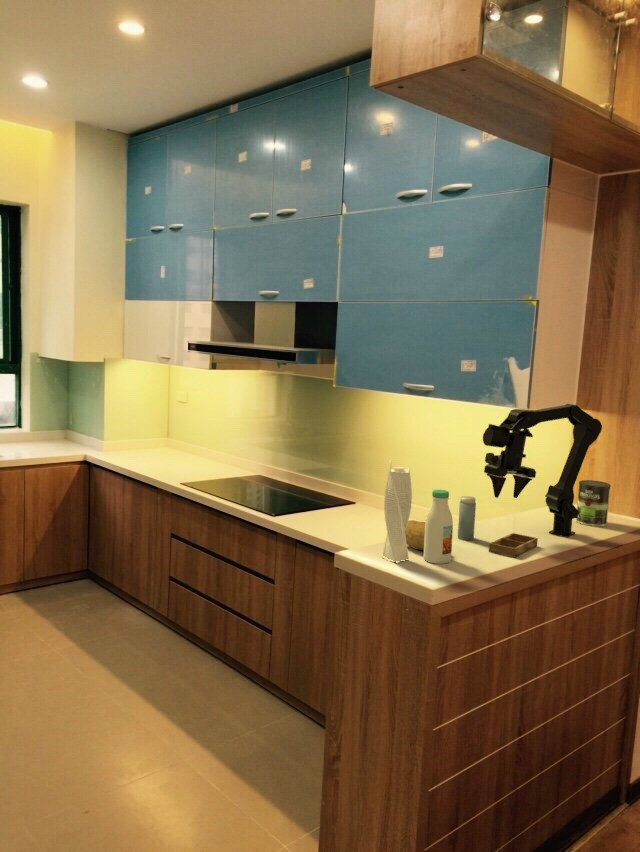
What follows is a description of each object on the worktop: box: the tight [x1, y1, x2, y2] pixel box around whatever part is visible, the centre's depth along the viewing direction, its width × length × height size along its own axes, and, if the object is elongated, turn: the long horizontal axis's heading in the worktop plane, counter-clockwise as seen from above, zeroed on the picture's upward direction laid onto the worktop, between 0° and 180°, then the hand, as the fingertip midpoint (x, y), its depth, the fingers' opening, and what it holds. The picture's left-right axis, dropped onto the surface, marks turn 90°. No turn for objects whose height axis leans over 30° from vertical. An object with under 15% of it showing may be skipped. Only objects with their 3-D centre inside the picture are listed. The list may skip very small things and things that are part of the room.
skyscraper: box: [382, 459, 413, 562], centre depth 201 cm, size 8×8×28 cm
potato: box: [405, 519, 426, 551], centre depth 213 cm, size 10×14×8 cm
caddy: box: [488, 532, 538, 559], centre depth 216 cm, size 16×8×3 cm, turn 140°
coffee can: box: [575, 479, 612, 527], centre depth 249 cm, size 10×10×14 cm
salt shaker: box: [457, 495, 477, 541], centre depth 225 cm, size 5×5×13 cm
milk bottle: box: [423, 489, 454, 565], centre depth 201 cm, size 8×8×20 cm
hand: (505, 497), depth 227 cm, fingers open, 9 cm apart
